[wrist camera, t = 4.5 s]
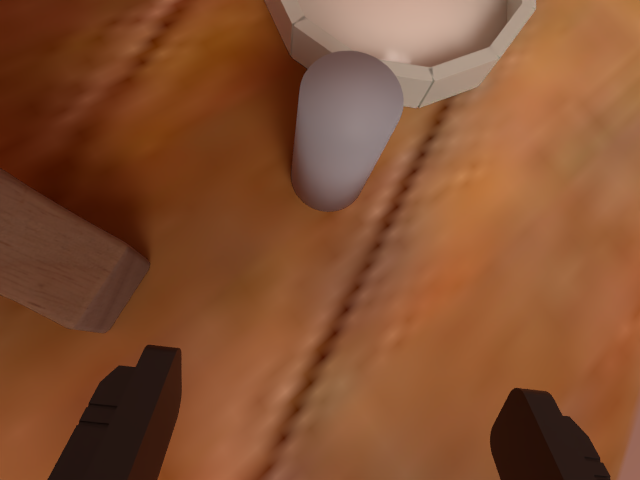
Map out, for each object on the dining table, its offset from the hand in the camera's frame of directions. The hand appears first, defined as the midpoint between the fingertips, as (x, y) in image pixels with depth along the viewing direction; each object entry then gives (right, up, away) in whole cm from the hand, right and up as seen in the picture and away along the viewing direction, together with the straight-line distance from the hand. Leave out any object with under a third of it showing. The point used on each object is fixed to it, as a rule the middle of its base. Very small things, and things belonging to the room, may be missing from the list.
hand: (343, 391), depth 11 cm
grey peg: (0, +8, +17) cm, 18 cm away
